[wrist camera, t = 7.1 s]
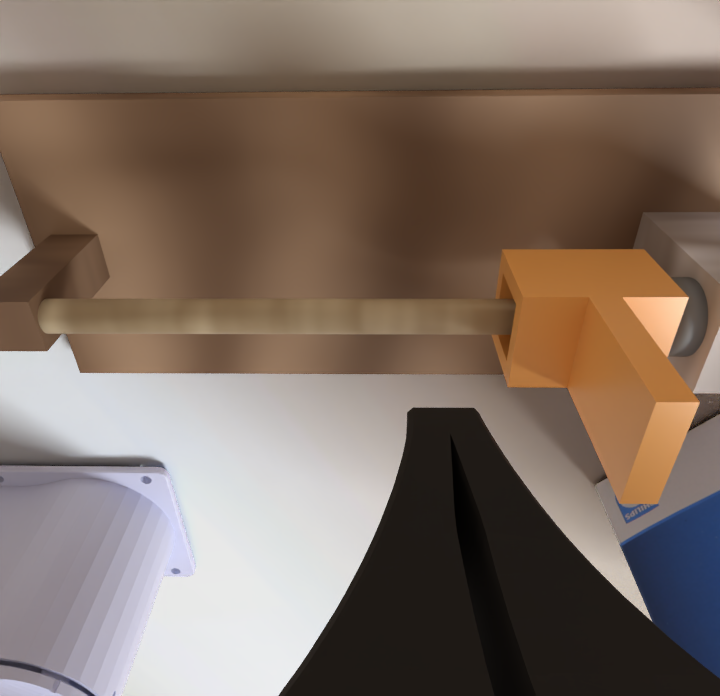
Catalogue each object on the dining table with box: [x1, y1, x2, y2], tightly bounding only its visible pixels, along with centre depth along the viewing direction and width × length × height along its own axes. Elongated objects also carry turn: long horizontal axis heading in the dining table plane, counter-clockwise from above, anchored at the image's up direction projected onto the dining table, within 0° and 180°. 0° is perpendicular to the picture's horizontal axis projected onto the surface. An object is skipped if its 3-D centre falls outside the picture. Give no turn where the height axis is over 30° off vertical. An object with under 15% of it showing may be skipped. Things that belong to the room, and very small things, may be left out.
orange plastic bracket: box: [492, 249, 700, 504], centre depth 14 cm, size 4×3×7 cm
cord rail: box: [0, 88, 720, 394], centre depth 17 cm, size 24×10×6 cm, turn 91°
